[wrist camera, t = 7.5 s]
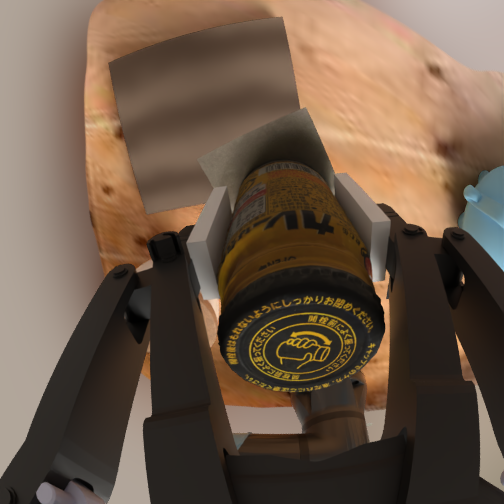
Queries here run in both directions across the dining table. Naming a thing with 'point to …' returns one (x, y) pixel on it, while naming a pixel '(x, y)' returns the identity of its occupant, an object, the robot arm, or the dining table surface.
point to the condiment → (291, 263)
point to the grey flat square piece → (199, 103)
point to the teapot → (486, 213)
